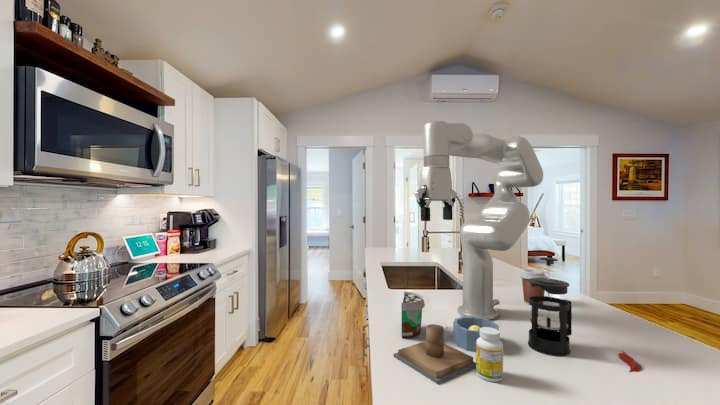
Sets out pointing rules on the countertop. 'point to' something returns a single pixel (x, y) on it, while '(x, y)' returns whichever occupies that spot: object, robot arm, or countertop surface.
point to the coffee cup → (527, 288)
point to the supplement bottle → (489, 355)
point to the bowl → (469, 331)
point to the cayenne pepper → (630, 362)
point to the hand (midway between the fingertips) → (436, 220)
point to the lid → (435, 354)
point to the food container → (411, 314)
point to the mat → (441, 378)
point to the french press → (546, 329)
